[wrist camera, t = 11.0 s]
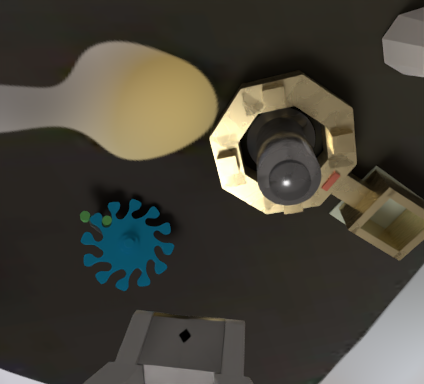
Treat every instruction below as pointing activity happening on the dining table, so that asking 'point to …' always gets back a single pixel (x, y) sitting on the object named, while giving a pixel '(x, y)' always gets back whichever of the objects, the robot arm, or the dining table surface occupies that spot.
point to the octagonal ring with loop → (328, 160)
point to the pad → (385, 212)
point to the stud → (284, 156)
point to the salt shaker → (406, 43)
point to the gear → (126, 243)
